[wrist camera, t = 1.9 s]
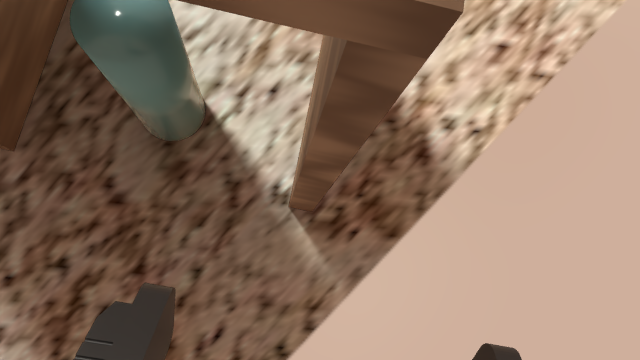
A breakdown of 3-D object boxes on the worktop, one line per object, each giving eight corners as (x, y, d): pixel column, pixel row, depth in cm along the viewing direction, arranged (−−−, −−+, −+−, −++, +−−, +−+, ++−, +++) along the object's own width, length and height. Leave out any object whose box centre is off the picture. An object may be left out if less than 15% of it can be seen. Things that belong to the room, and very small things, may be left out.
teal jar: (133, 133, 37) (56, 50, 23) (150, 76, 38) (86, -36, 24) (196, 146, 37) (157, 72, 23) (211, 89, 38) (182, -13, 25)
